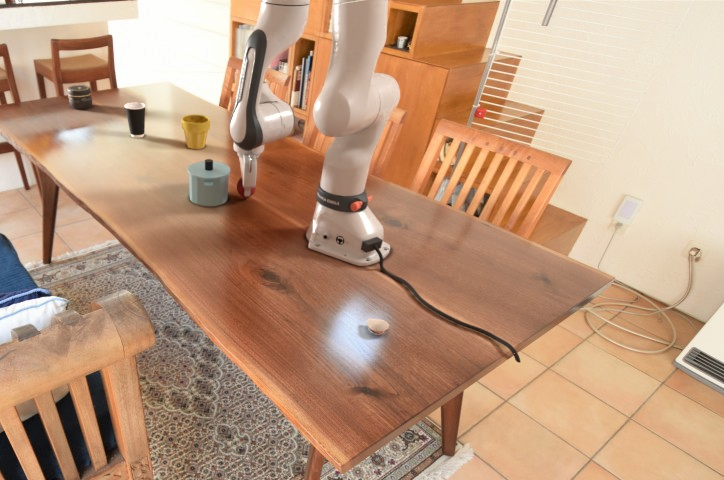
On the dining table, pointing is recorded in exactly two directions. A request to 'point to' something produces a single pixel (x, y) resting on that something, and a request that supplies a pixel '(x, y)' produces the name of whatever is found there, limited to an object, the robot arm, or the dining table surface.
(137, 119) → the dixie cup
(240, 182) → the onion
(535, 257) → the dining table surface
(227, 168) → the pot lid
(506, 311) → the dining table surface
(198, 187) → the pot
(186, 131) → the flower pot
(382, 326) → the macaroon
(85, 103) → the jar
